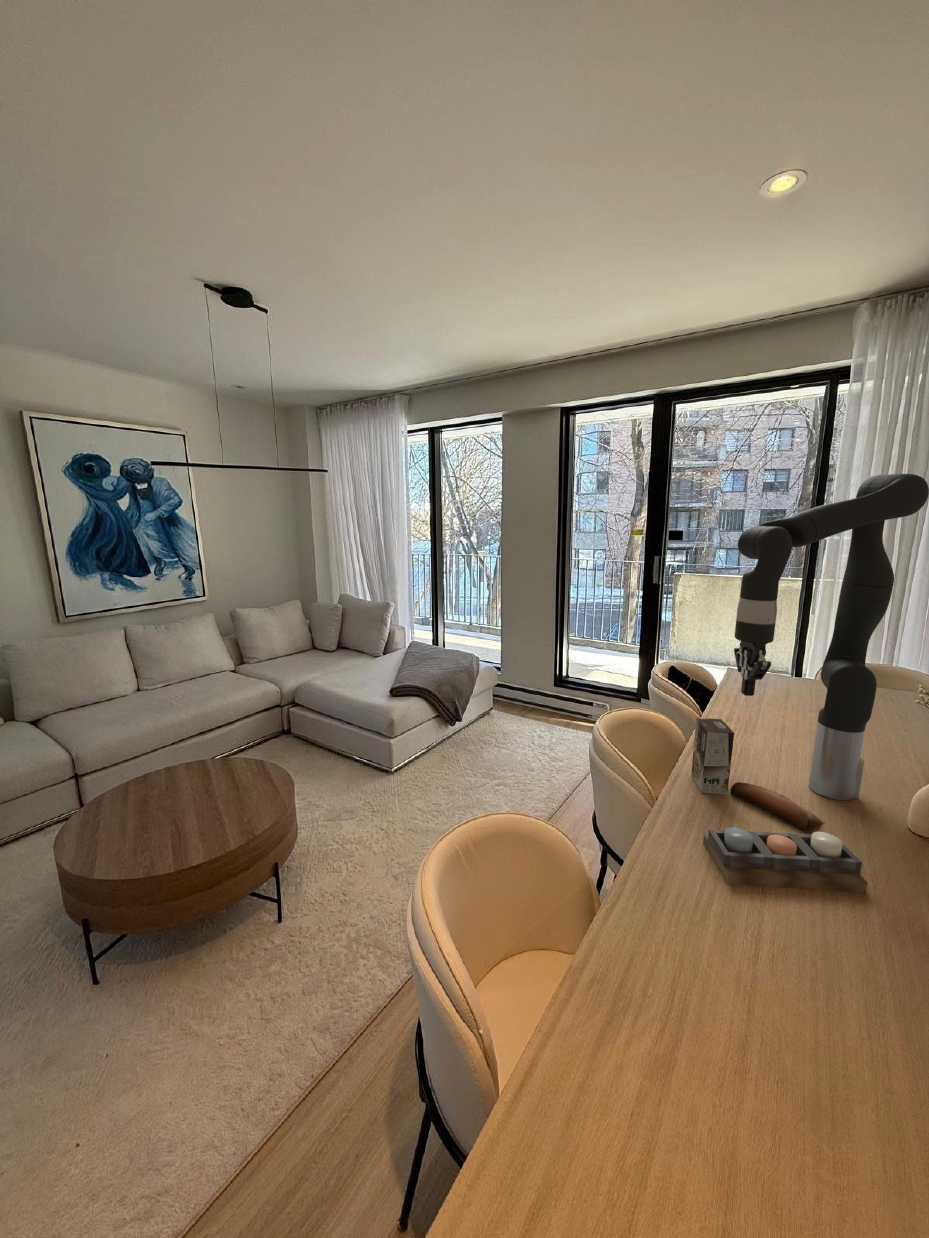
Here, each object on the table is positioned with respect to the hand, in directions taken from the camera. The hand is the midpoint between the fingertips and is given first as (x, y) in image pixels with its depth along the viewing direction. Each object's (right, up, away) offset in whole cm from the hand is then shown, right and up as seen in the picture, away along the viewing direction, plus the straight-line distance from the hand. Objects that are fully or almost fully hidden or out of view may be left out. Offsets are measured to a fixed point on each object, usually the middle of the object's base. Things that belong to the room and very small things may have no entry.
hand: (747, 694), depth 114 cm
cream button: (+5, -28, -17) cm, 33 cm away
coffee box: (-2, -25, +14) cm, 29 cm away
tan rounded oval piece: (-3, -29, -17) cm, 33 cm away
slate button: (-11, -27, -16) cm, 34 cm away
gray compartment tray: (-3, -31, -16) cm, 35 cm away
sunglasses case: (+9, -28, +4) cm, 29 cm away
